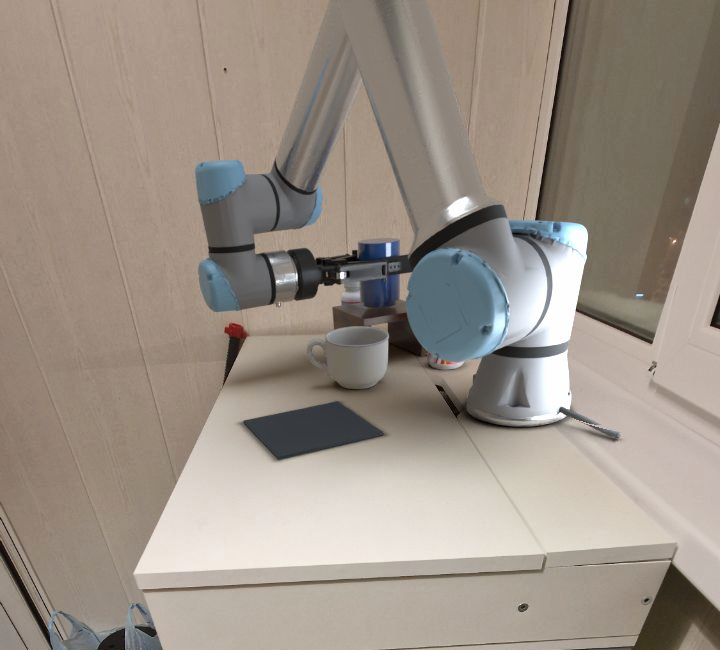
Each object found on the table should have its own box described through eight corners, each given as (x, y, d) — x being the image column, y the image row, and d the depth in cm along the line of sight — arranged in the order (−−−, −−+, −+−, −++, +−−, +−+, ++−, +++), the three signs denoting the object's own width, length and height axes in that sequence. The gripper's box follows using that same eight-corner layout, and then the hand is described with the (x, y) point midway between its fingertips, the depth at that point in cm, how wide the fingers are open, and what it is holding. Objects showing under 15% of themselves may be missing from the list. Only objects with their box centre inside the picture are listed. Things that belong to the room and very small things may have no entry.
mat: (383, 435, 79) (383, 432, 79) (278, 459, 74) (278, 456, 74) (337, 403, 90) (337, 401, 90) (243, 423, 85) (243, 420, 85)
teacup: (391, 374, 101) (390, 324, 96) (387, 393, 93) (386, 340, 88) (316, 375, 102) (311, 327, 97) (305, 394, 94) (300, 343, 89)
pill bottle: (346, 343, 119) (343, 282, 111) (340, 337, 123) (337, 277, 116) (373, 340, 120) (372, 279, 112) (367, 334, 124) (365, 275, 117)
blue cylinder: (407, 304, 105) (407, 240, 98) (371, 310, 103) (369, 244, 96) (388, 298, 110) (387, 237, 104) (353, 304, 108) (350, 241, 101)
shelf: (428, 354, 109) (429, 308, 104) (365, 366, 105) (363, 319, 100) (394, 340, 119) (394, 297, 114) (335, 350, 115) (332, 306, 110)
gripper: (271, 293, 105) (374, 278, 113) (317, 309, 92) (431, 291, 99) (264, 245, 101) (373, 232, 108) (313, 255, 87) (433, 239, 94)
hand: (401, 260), depth 104 cm, fingers closed on blue cylinder, 8 cm apart
